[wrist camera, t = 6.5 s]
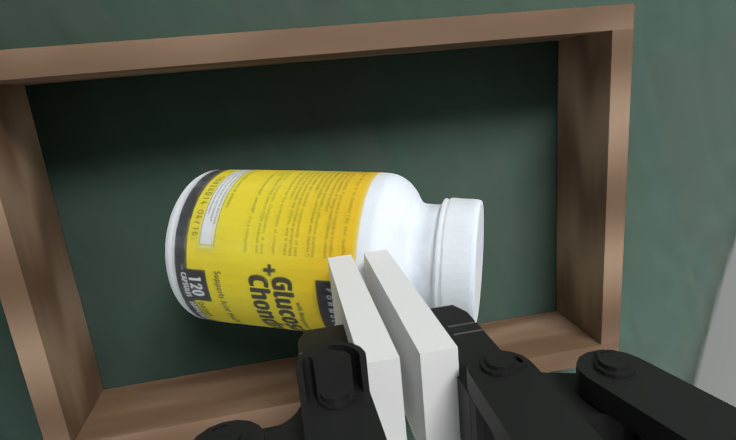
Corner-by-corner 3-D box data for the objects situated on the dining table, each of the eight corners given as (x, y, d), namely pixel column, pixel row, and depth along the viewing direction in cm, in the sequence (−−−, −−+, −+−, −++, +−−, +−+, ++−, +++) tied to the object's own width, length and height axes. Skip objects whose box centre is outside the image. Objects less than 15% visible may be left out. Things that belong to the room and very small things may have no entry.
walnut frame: (-8, 63, 21) (-75, 55, 17) (576, 18, 25) (634, 3, 21) (87, 410, 25) (52, 469, 21) (571, 322, 29) (618, 358, 25)
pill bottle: (129, 236, 17) (470, 258, 14) (216, 140, 22) (485, 140, 19) (196, 350, 21) (473, 387, 18) (258, 248, 26) (485, 263, 23)
